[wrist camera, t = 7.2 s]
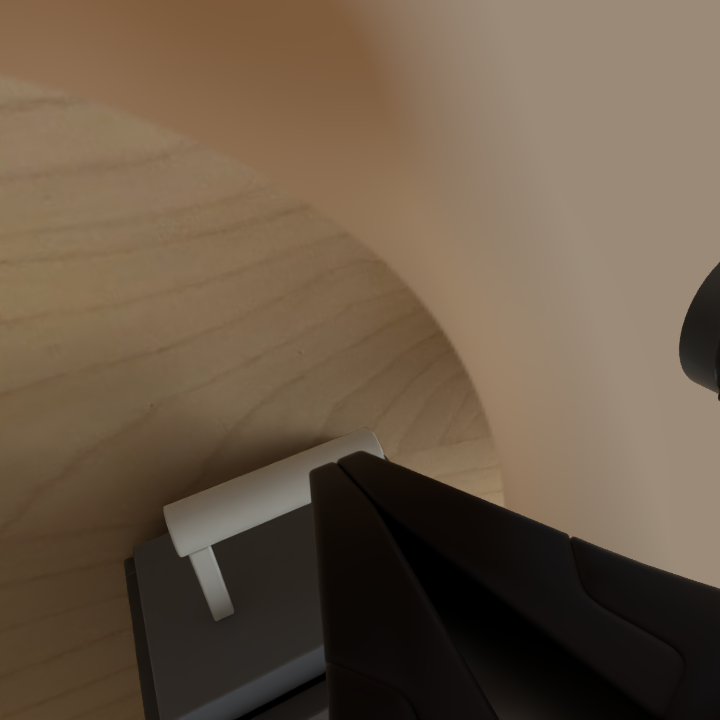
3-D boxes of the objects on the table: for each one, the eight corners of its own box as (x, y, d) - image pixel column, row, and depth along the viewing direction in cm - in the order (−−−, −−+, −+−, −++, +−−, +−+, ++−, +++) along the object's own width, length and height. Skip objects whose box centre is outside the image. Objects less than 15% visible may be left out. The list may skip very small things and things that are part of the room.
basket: (87, 449, 18) (100, 617, 12) (362, 353, 21) (473, 455, 15) (217, 731, 26) (261, 913, 20) (405, 632, 29) (489, 767, 23)
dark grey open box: (122, 560, 21) (155, 801, 14) (383, 452, 24) (514, 606, 18) (213, 747, 27) (267, 980, 20) (411, 642, 31) (516, 811, 24)
